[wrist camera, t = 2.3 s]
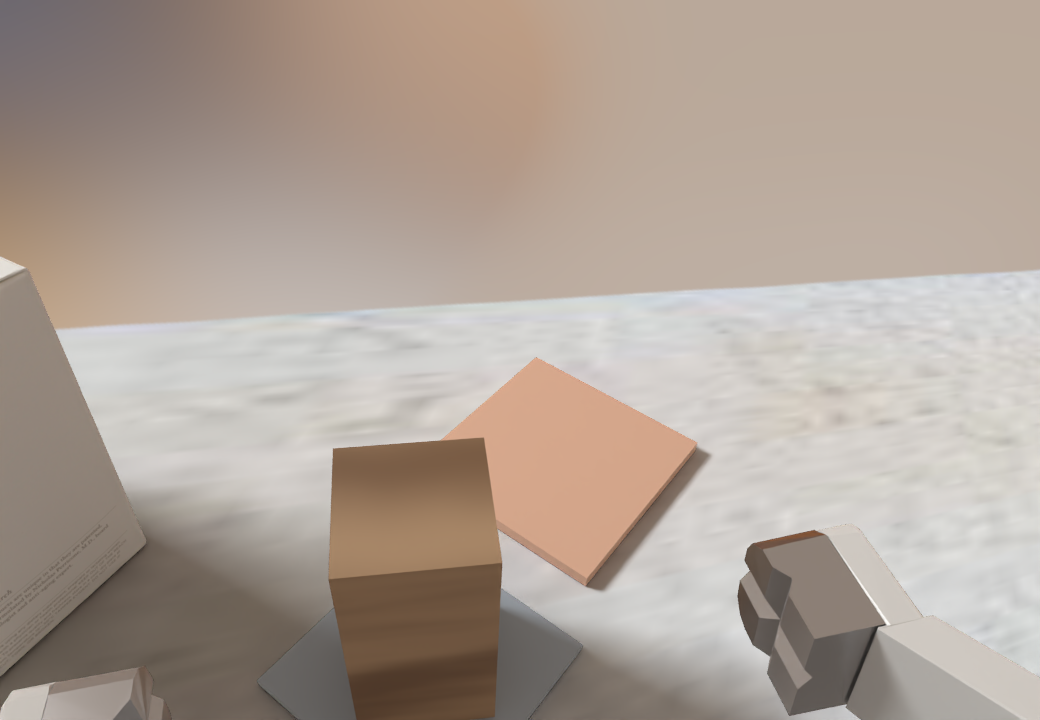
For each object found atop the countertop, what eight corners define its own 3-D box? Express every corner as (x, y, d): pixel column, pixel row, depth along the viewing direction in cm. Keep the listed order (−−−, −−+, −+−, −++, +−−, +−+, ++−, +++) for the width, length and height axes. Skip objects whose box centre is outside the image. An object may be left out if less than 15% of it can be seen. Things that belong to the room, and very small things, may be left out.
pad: (585, 586, 36) (586, 578, 35) (412, 473, 40) (412, 465, 40) (695, 450, 42) (697, 442, 42) (535, 365, 46) (536, 357, 46)
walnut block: (494, 717, 31) (502, 562, 24) (359, 733, 30) (328, 579, 24) (480, 599, 35) (483, 437, 28) (359, 611, 34) (332, 448, 27)
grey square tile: (434, 841, 28) (434, 838, 28) (258, 684, 32) (256, 680, 32) (582, 648, 34) (582, 644, 33) (416, 533, 37) (416, 529, 37)
